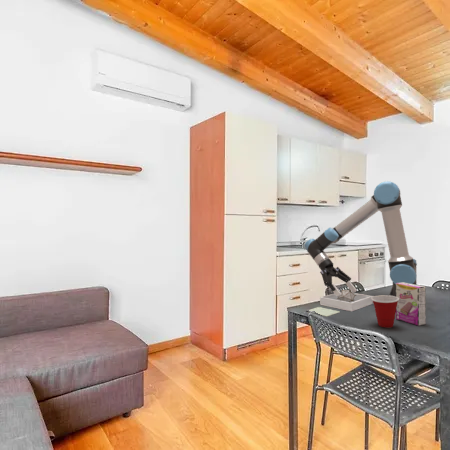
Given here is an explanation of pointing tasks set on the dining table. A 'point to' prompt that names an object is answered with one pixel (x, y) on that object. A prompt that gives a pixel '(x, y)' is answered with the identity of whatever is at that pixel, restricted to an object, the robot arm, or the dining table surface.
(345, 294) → the wireframe polyhedron
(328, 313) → the pad
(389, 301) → the plastic cup
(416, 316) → the candy bar box
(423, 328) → the dining table surface
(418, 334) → the dining table surface
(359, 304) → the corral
